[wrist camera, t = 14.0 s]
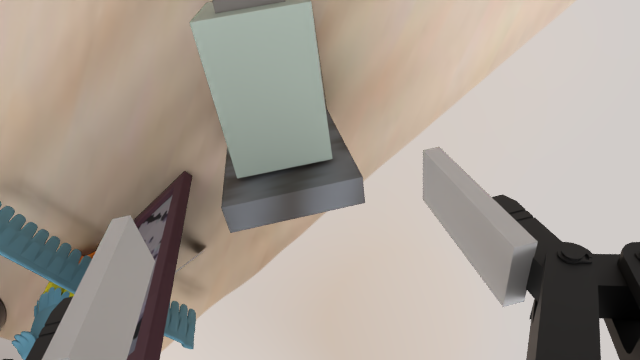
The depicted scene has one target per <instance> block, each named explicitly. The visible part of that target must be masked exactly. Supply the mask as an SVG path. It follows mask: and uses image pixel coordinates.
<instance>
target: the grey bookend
mask: <svg viewBox="0 0 640 360" xmlns="http://www.w3.org/2000/svg"><path fill="white" fill-rule="evenodd" d="M313 19H314V17H313ZM314 26H315V24H314ZM315 33H316V31H315ZM316 41H317V38H316ZM317 48H318V45H317ZM318 55H319V52H318ZM319 63H320V59H319ZM320 70H321V66H320ZM321 78H322V73H321ZM322 85H323V80H322ZM323 92H324V86H323ZM324 100H325V93H324ZM325 107H326V100H325ZM326 114H327V122H328V129H329V137H330V144H331V151H332V159H330V160H325V161H320V162H315V163H310V164H306V165H301V166H296V167H291V168H286V169H281V170H276V171H272V172H267V173H262V174H257V175H252V176H247V177H242V178H237V176H236V173H235V170H234V166H233V163H232V160H231V157H230V153H229V150H228V147H227V156H226V166H225V176H224V186H223V196H222V206H221V208H222V211H223V214H224V217H225V219H226V222H227V225H228V227H229V230H230V233H232V232H237V231H241V230H246V229H250V228H255V227H259V226H263V225H268V224H272V223H277V222H281V221H286V220H290V219H295V218H299V217H304V216H308V215H313V214H317V213H322V212H326V211H330V210H335V209H339V208H344V207H348V206H353V205H357V204H362V203H365V197H364V187H363V177H362V175H361V173H360V171H359V169H358V167H357V166H356V164H355V162H354V160H353V158H352V156H351V154H350V152H349V150H348V148H347V147H346V145H345V143H344V141H343V139H342V137H341V135H340V133H339V131H338V129H337V128H336V126H335V124H334V122H333V120H332V118H331V116H330V114H329V112H328V110H327V107H326Z"/></svg>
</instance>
